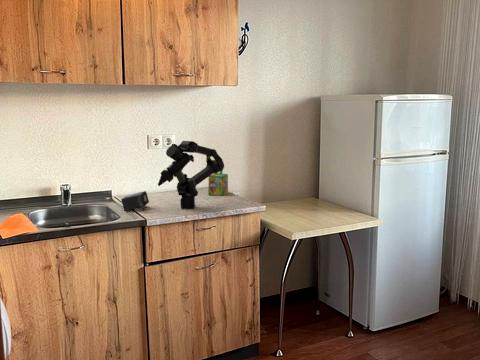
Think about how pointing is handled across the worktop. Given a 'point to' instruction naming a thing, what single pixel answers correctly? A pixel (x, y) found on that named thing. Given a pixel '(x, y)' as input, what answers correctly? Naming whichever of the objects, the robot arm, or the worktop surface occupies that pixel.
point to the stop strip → (139, 208)
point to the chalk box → (218, 184)
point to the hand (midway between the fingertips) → (158, 185)
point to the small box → (135, 200)
